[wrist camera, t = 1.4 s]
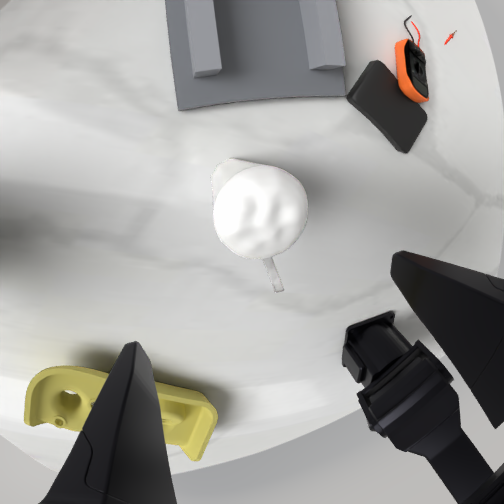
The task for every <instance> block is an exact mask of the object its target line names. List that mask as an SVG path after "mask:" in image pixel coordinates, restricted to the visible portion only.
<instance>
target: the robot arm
mask: <svg viewBox="0 0 504 504" xmlns="http://www.w3.org/2000/svg"><path fill="white" fill-rule="evenodd" d="M390 273H391V277H392V279H393V281H394V282H395V284H396V285H397V287H398V288H399V290H400V291H401V293H402V294H403V296H404V297H405V299H406V300H407V302H408V304H409V305H410V307H411V308H412V309H413V311H414V312H415V313H416V315H417V316H418V317H419V319H420V320H421V321H422V322H423V324H424V325H425V326H426V328H427V329H428V330H429V332H430V333H431V334H432V336H433V337H434V338H435V340H436V341H437V342H438V344H439V345H440V346H441V348H442V349H443V351H444V352H445V353H446V355H447V356H448V358H449V359H450V360H451V362H452V363H453V365H454V366H455V367H456V369H457V370H458V372H459V373H460V374H461V376H462V378H463V379H464V381H465V382H466V384H467V385H468V387H469V388H470V389H471V392H472V393H473V395H474V396H475V398H476V399H477V401H478V403H479V404H480V406H481V407H482V409H483V411H484V412H485V414H486V415H487V417H488V419H489V421H490V422H491V424H492V425H493V427H494V428H495V429H496V428H497V427H498V426H500V425H501V424H502V423H503V422H504V279H501V278H497V277H494V276H491V275H487V274H486V275H485V274H484V273H481V272H477V271H474V270H471V269H467V268H464V267H460V266H457V265H454V264H450V263H447V262H443V261H440V260H436V259H432V258H429V257H425V256H422V255H418V254H414V253H411V252H407V251H399V252H397V253H395V254H393V256H392V263H391V272H390ZM394 318H395V314H394V313H393V312H388V313H386V314H383V315H380V316H378V317H375V318H372V319H370V320H367V321H364V322H361V323H358V324H356V325H353V326H350V327H348V328H347V330H346V335H345V344H344V346H343V354H342V365H343V367H347V369H348V370H349V372H350V373H351V375H352V376H353V378H354V380H355V381H356V382H357V383H362V385H363V386H364V389H363V390H362V391H359V392H358V393H357V396H358V398H359V400H358V402H359V403H360V405H361V407H362V409H363V411H364V413H365V416H366V418H367V422H368V426H369V428H370V430H371V431H376V432H377V433H379V434H380V435H381V436H382V437H384V438H386V437H387V436H388V438H389V439H390V440H391V442H392V443H393V444H394V446H395V447H396V448H397V449H399V450H401V451H404V452H407V451H408V452H411V453H414V454H417V455H420V456H424V457H425V458H426V459H427V460H428V462H429V463H430V464H431V466H432V467H433V469H434V470H435V471H436V473H437V474H438V476H439V477H440V479H441V480H442V481H443V483H444V484H445V486H446V487H447V489H448V490H449V492H450V493H451V494H452V496H453V497H454V499H455V500H456V502H457V503H458V504H504V463H503V464H502V466H500V467H499V469H498V470H497V471H496V472H495V473H494V472H493V471H492V469H491V468H490V467H489V465H488V464H487V463H486V461H485V460H484V458H483V457H482V456H481V454H480V453H479V451H478V450H477V448H476V447H475V446H474V444H473V443H472V442H471V440H470V439H469V438H468V437H467V435H466V434H465V432H464V431H463V430H462V428H461V422H460V409H459V398H458V394H457V393H456V392H455V390H454V389H453V388H452V387H451V385H450V383H451V382H452V381H453V380H454V379H453V377H452V375H451V374H450V373H449V371H448V370H447V369H446V368H445V366H444V365H443V364H442V363H441V362H440V361H439V360H438V359H437V357H436V356H435V355H434V354H433V353H431V352H430V351H429V350H428V349H427V348H426V347H425V346H424V345H423V344H422V343H421V342H420V341H419V340H417V341H416V342H415V344H414V345H413V346H412V345H411V344H410V343H409V342H408V341H407V339H406V338H405V337H404V336H403V335H402V334H401V333H400V332H399V331H398V330H397V329H396V327H395V326H394V325H393V322H394ZM82 430H83V431H82ZM82 430H81V431H80V433H79V435H78V438H77V440H76V442H75V444H74V446H73V448H72V450H71V452H70V454H69V456H68V458H67V459H66V461H65V463H64V465H63V467H62V468H61V470H60V472H59V474H58V476H57V477H56V479H55V481H54V483H53V485H52V486H51V488H50V490H49V492H48V493H47V495H46V496H45V498H44V499H43V500H42V501H41V502H40V503H38V504H177V502H176V497H175V492H174V488H173V483H172V478H171V473H170V467H169V462H168V456H167V450H166V444H165V438H164V431H163V424H162V417H161V409H160V403H159V399H158V394H157V390H156V386H155V381H154V377H153V372H152V367H151V363H150V360H149V357H148V356H147V354H146V353H145V351H144V350H143V348H142V346H141V345H140V343H139V342H137V341H134V342H131V343H127V344H125V346H124V347H123V349H122V351H121V353H120V355H119V357H118V358H117V360H116V362H115V364H114V366H113V368H112V370H111V371H110V373H109V375H108V377H107V379H106V381H105V383H104V385H103V387H102V389H101V391H100V393H99V395H98V397H97V399H96V401H95V403H94V405H93V407H92V409H91V411H90V413H89V415H88V417H87V419H86V421H85V423H84V425H83V427H82Z"/></svg>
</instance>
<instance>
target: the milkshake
mask: <svg viewBox="0 0 504 504" xmlns="http://www.w3.org/2000/svg"><path fill="white" fill-rule="evenodd" d="M210 178H211V185H212V192H213V218H214V225H215V229H216V232H217V235H218V237H219V239H220V240H221V241H222V243H223V244H224V245H225V246H227V247H228V248H229V249H230V250H231V251H232V252H234V253H235V254H237V255H239V256H241V257H244V258H248V259H263V262H264V264H265V267H266V270H267V273H268V275H269V278H270V281H271V284H272V286H273V289H274V292H275V293H277V292H281V291H284V288H283V285H282V282H281V280H280V277H279V274H278V272H277V269H276V267H275V264H274V262H273V259H272V256H275V255H278V254H280V253H282V252H284V251H286V250H287V249H289V248H290V247H291V246H292V245H293V244H294V243H295V242H296V241H297V239H298V238H299V237H300V235H301V233H302V232H303V230H304V228H305V225H306V222H307V216H308V199H307V195H306V192H305V189H304V187H303V186H302V184H301V183H300V182H299V180H298V179H297V178H295V177H294V176H293V175H291V174H290V173H288V172H286V171H285V170H283V169H280V168H278V167H274V166H269V165H263V164H257V163H252V162H249V161H245V160H239V159H234V158H230V159H227V160H225V161H223V162H221V163H219V164H217V166H216V168H215V170H214V172H213V173H212V175H211V177H210Z"/></svg>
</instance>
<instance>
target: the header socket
mask: <svg viewBox="0 0 504 504" xmlns="http://www.w3.org/2000/svg"><path fill="white" fill-rule="evenodd" d="M165 5H166V15H167V25H168V35H169V44H170V52H171V61H172V69H173V76H174V84H175V91H176V98H177V105H178V111H181V110H186V109H192V108H197V107H203V106H210V105H217V104H224V103H231V102H240V101H249V100H259V99H271V98H285V97H307V96H346V93H345V83H344V75H343V66H346V62H345V55H344V47H343V41H342V34H341V28H340V22H339V17H338V11H337V6H336V1H335V0H165Z"/></svg>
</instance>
